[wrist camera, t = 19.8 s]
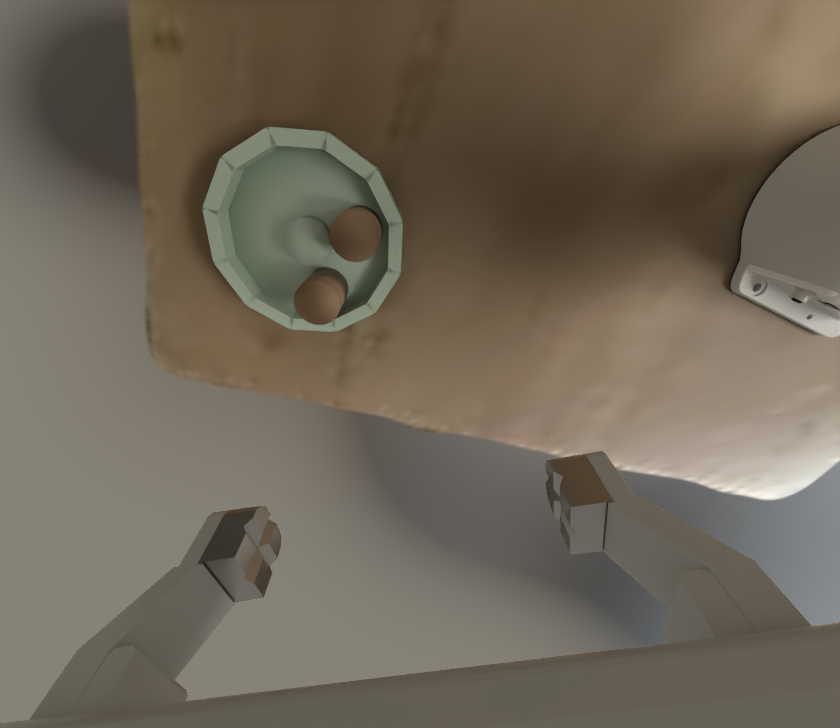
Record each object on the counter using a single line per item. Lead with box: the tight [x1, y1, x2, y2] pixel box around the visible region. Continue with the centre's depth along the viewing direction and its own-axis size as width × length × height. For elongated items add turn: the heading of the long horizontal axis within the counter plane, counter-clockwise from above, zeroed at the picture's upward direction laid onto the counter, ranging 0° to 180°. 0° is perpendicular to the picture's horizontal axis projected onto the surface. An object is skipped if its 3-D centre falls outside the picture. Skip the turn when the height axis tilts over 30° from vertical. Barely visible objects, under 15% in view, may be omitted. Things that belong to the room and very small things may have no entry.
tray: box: [202, 127, 403, 332], centre depth 33 cm, size 17×17×3 cm
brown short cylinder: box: [294, 267, 348, 325], centre depth 34 cm, size 4×4×5 cm
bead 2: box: [329, 205, 383, 262], centre depth 31 cm, size 4×4×5 cm
